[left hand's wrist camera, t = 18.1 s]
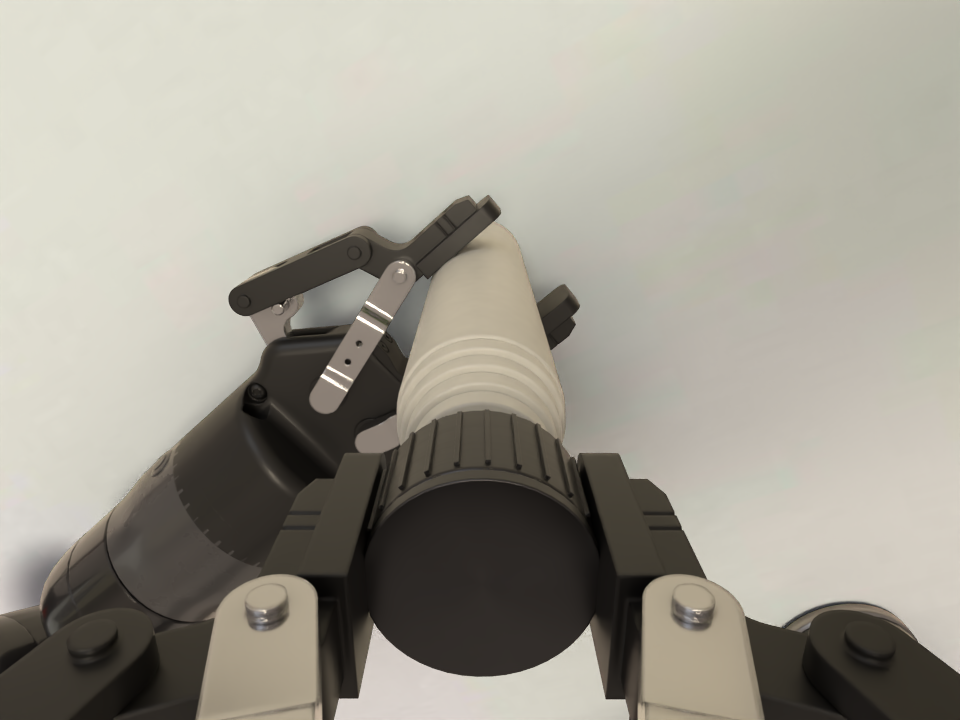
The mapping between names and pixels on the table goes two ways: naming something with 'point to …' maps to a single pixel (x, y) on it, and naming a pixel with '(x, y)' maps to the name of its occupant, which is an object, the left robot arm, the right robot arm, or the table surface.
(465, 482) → the cap
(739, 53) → the table surface
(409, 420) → the bottle
